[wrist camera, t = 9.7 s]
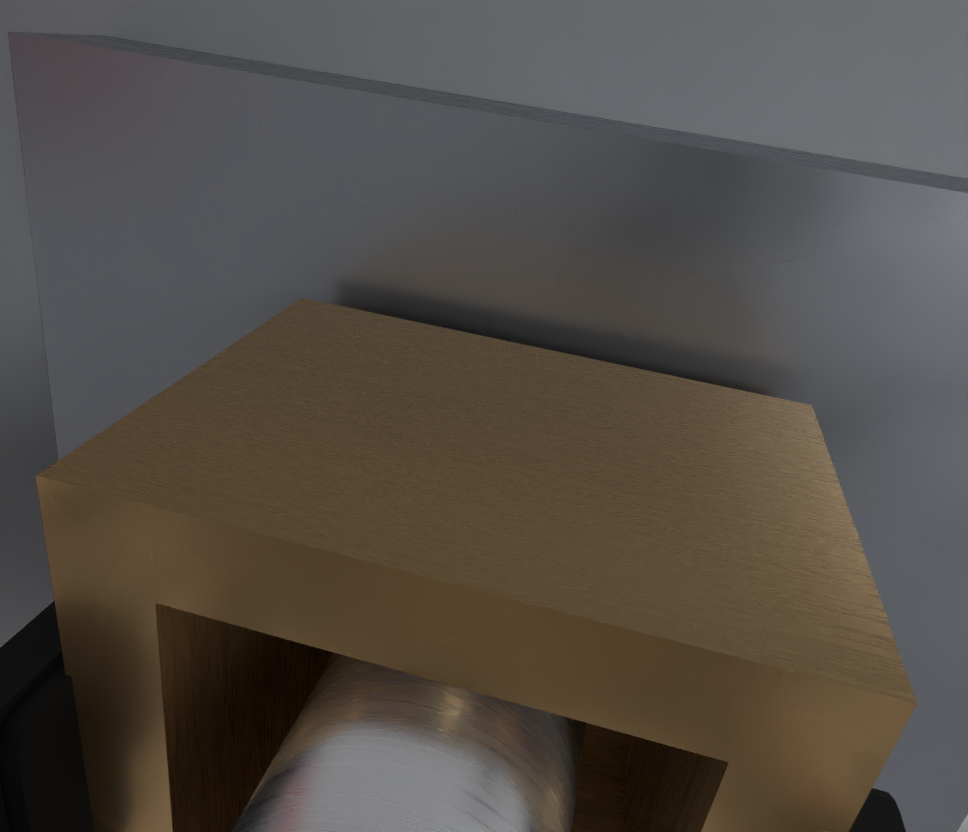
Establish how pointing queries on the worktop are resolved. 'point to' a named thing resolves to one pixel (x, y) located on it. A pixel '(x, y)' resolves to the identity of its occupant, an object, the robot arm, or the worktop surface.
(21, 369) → the worktop surface
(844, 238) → the piston jig
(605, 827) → the wooden cubby shelf
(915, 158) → the worktop surface
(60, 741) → the robot arm
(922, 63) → the worktop surface
